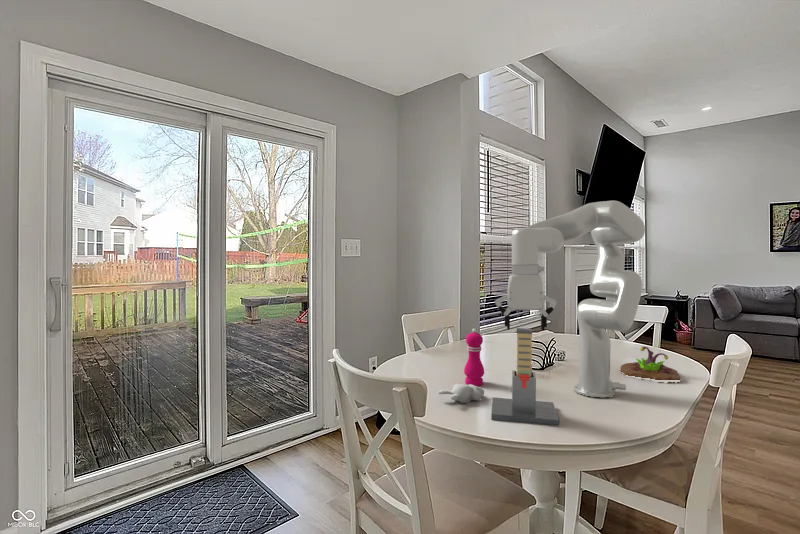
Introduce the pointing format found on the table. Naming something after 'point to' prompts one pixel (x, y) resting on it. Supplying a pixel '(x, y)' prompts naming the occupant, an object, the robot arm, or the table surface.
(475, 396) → the grey toy animal
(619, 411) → the table surface
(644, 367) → the plant
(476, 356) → the pepper mill
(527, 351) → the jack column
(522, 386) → the sleeve
